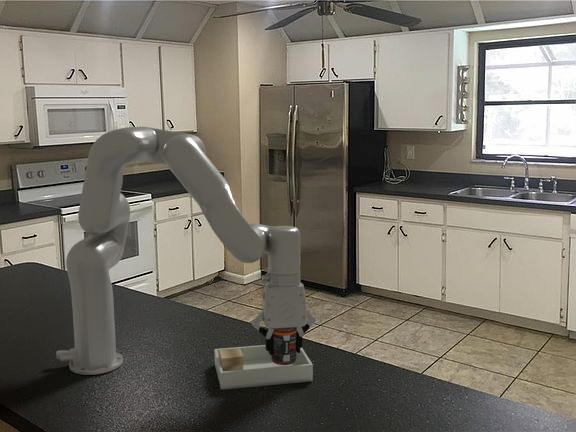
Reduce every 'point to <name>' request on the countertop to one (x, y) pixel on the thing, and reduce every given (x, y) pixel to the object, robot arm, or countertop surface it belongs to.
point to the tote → (263, 369)
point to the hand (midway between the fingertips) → (283, 351)
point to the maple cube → (231, 359)
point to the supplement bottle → (284, 346)
